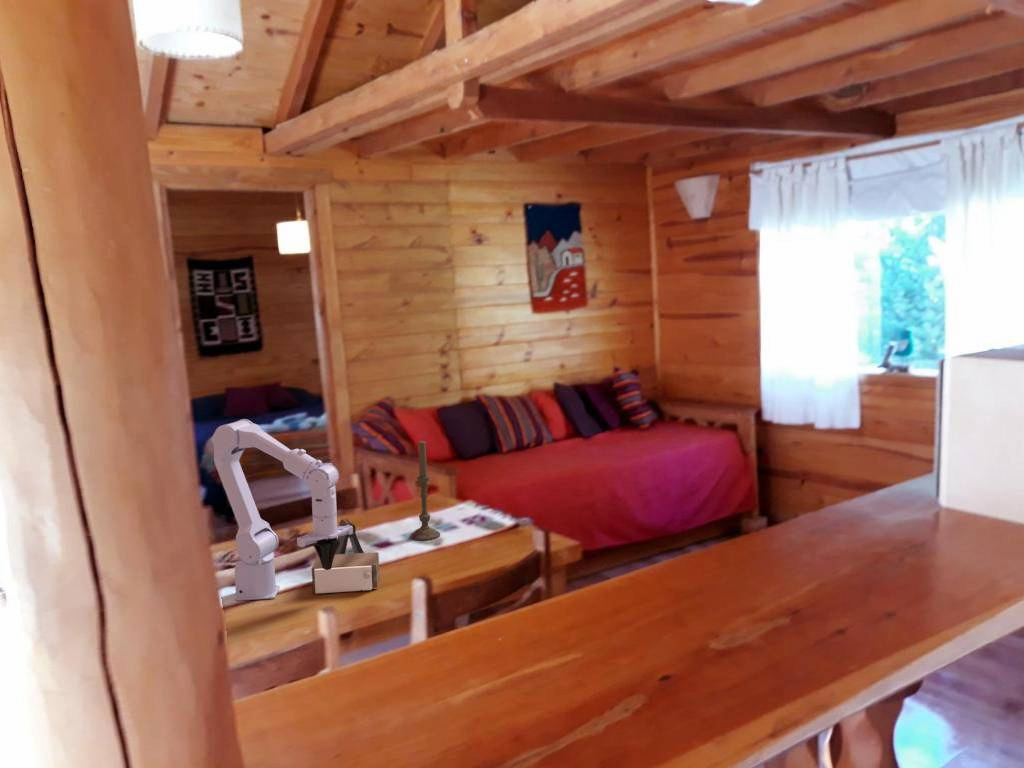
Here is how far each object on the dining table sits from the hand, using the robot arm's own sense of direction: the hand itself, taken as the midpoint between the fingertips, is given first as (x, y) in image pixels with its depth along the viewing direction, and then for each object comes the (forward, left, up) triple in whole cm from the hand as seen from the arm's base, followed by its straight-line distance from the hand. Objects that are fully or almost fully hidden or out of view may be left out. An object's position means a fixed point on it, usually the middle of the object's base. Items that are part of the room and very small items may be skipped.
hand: (326, 568), depth 206 cm
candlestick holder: (+24, +48, -8) cm, 54 cm away
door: (+3, +4, -7) cm, 9 cm away
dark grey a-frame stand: (+3, +26, -8) cm, 28 cm away
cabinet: (+4, +10, -8) cm, 13 cm away
